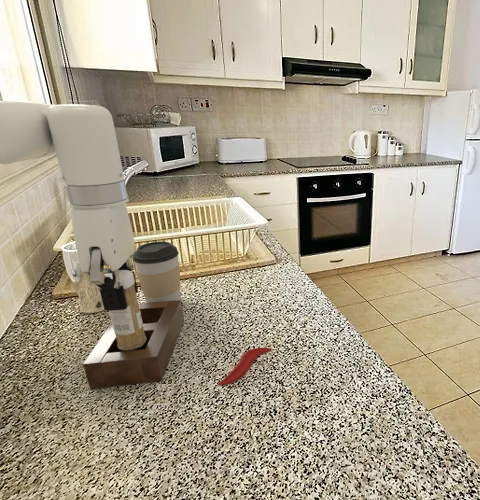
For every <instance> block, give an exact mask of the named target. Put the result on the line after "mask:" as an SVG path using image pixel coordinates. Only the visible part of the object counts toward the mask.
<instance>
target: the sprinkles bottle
mask: <svg viewBox="0 0 480 500" xmlns="http://www.w3.org/2000/svg"><path fill="white" fill-rule="evenodd" d="M132 272H133V271H128V270H119V279H120V286H123V287H124V292H125V297H126V301H127V308H126V309H125V310H113V311H108V313H109V316H110V321H111V323H112V325H113V329H114V332H115V335H116V339H117V347H118V349H120V350H122V351H130V350H135V349H137V348H139V347H141V346H142V345H144V344H145V342H146V336H145V333H144V329H143V322H142V317H141V313H140V309H139V304H138V303H139V301H138V297H137V293H136V292H135V287H134V286H135V285H134V283H135V280H134V276H133V273H132ZM105 276H106V277H110V278H111V279H113V278H112V273H106V274H105Z"/></svg>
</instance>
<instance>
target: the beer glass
mask: <svg viewBox="0 0 480 500" xmlns="http://www.w3.org/2000/svg"><path fill="white" fill-rule="evenodd" d="M61 251H62V258H63V263H64V268H65V270H66V274H67V276H68V277H69V280H70V281H71V284H72V285H73V288H74V289H75V291H76V293H77V296H78V299H79V300H78V301H79V311H80V313H83V314H86V315H87V314H90V315H91V314H97V313H100V312H103V311H105V310H104V306H103V302H102V298H101V294H100V290H98V288H97V285H96V284H94V283H91V282H90V272H89V273H83V272H82V271H81V268H80V264H79V260H78V255H77V251H76V245H75V241H73V242H69V243H67V244H64V245H63V246H62V247H61ZM104 269H106V266H104ZM105 274H107V273H105ZM105 274H104V275H105Z"/></svg>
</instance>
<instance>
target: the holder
mask: <svg viewBox="0 0 480 500" xmlns="http://www.w3.org/2000/svg"><path fill="white" fill-rule="evenodd" d="M138 304H139V309H140V313H141V317H142V322H143V329H144V333H145V336H146V342H145V344H144V345H142V346H141V347H139V348H137V349H135V350H130V351H122V350H120V349H118V347H117V339H116V335H115V332H114V329H113V325H112V322H111V323H110V324H109V325H108V327H107V329H106V330H105V332H104V333H103V335H102V336H101V337H100V339H99V340H98V341H97V343H96V345H95V346H94V348H93V349H92V350H91V351H90V353H89V354H88V356H87V358H86V359H85V361H84V362H83V364H82V366H83V370H84V373H85V376H86V380H87V383H88V388H89V390H95V389H105V388H112V387H114V388H115V387H121V386H131V385H139V384H146V383H147V384H148V383H155V382H162V381H163V380H164V376H165V373H166V371H167V368H168V365H169V362H170V360H171V358H172V357H171V356H172V355H173V351H174V350H175V346H176V343H177V342H178V338H179V335H180V332H181V330H182V328H183V324H184V321H185V318H184V311H183V305H182V299H181V300H176V301H162V302H149V303H147V302H138Z"/></svg>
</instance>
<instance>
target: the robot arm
mask: <svg viewBox="0 0 480 500" xmlns="http://www.w3.org/2000/svg"><path fill="white" fill-rule="evenodd" d="M118 143H119V142H118V138H117V134H116V128H115V123H114V119H113V115H112V113H111V112H110V110H108V109H107V108H106V107H104V106H102V105H94V104H50V103H45V102H44V103H43V102H36V101H18V100H17V101H16V100H11V101H10V100H0V165H9V164H15V163H19V162H24V161H29V160H33V159H34V160H35V159H40V158H45V157H51V156H56V158H57V163H58V166H59V171H60V175H61V178H62V182H63V185H64V189H65V194H66V198H67V201H68V205H69V208H71V224H72V225H71V226H72V235H73V239H74V242H75V245H76V251H77V255H78V260H79V264H80V268H81V271H82V272H83V273H89V272H90V282H91V283H94V284H96V285H97V288H98V290H100V294H101V298H102V302H103V306H104V310H103V311H105V312H109V311H113V310H125V309H126V308H127V301H126V297H125V292H124V287H123V286H120V279H119V270H128V271H131V272H132V273H133V276H134V280H135V283H134V285H135V286H134V287H135V292H136V294H137V293H138V291H139V289H138V284H137V279H136V275H135V271H134V269H135V267H134V262H133V254H134V252H135V249H136V245H135V244H136V243H135V237H134V232H133V228H132V223H131V219H130V215H129V211H128V208H127V205H126V204H127V203H128V202H129V200H130V199H129V195H128V194H129V193H128V190H127V189H128V188H127V184H126V179H125V174H124V169H123V164H122V159H121V154H120V149H119V144H118ZM104 266H105V267H106V266H109V267H108V268H105V269H104ZM105 273H106V274H107V273H112V278H113V279H111V278H110V277H106V276H105V275H104V274H105Z"/></svg>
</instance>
